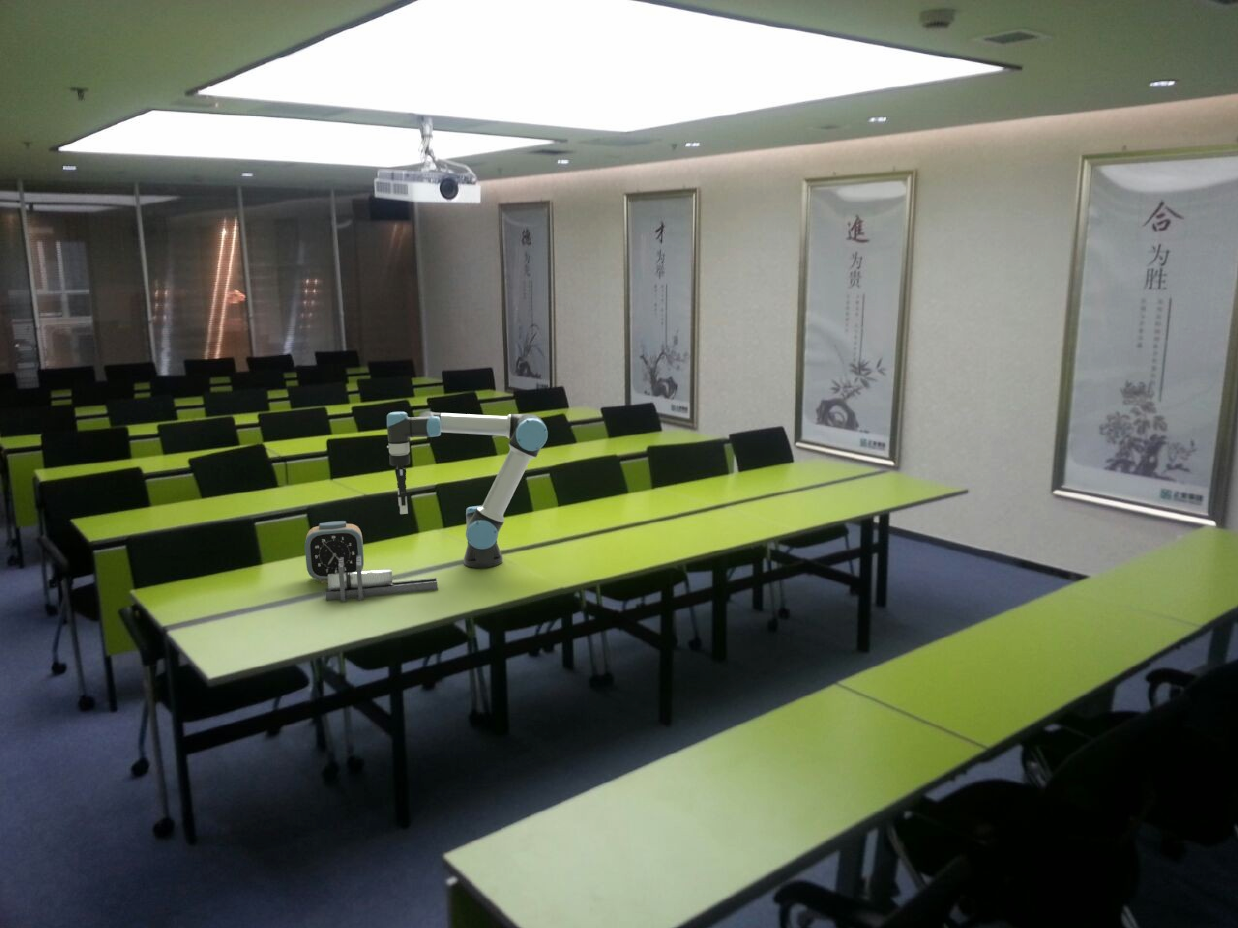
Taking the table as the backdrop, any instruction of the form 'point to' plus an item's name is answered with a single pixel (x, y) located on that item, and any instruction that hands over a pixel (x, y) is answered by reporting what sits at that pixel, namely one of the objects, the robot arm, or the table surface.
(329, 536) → the alarm clock
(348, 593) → the gray metal rack
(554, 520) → the table surface
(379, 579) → the tube
